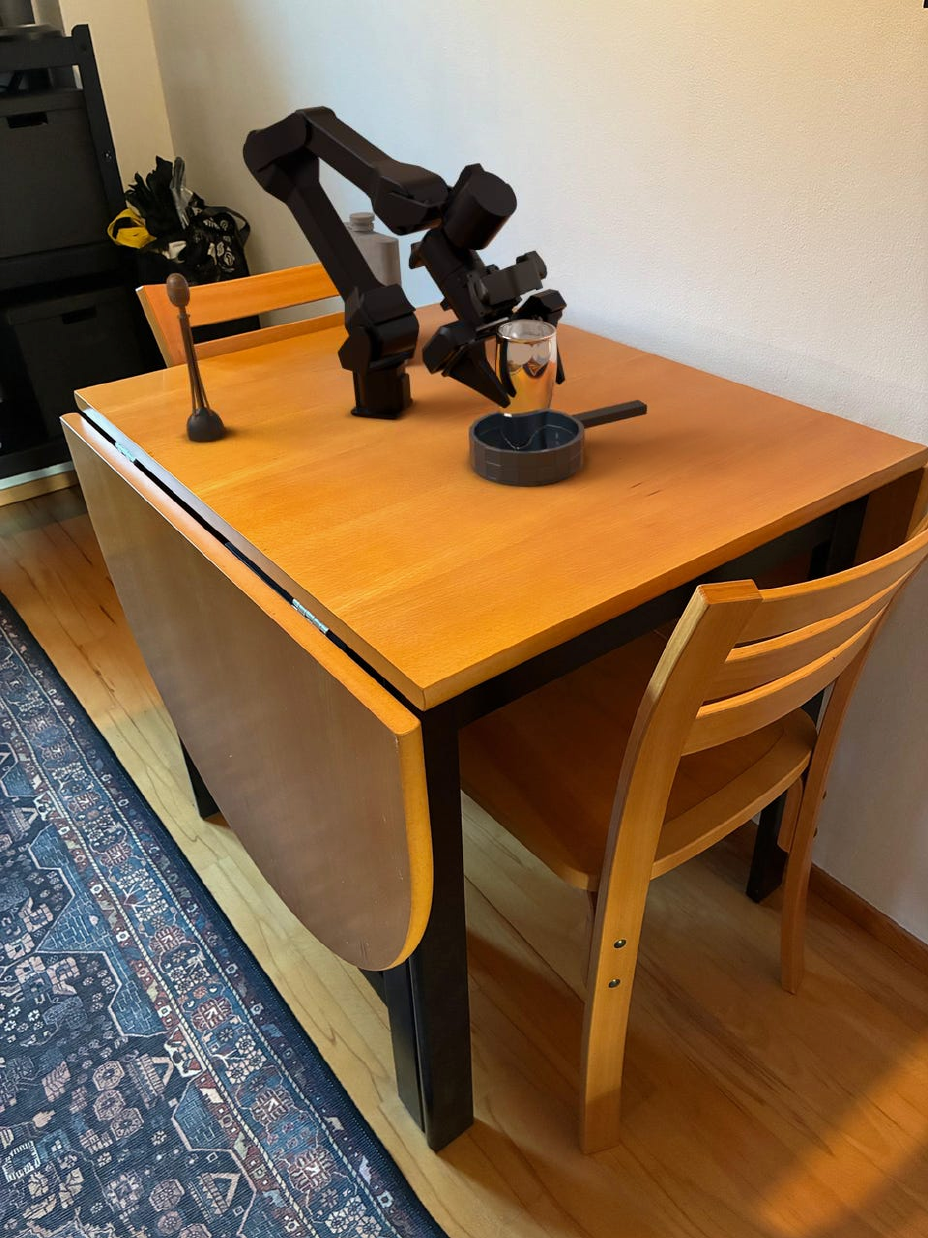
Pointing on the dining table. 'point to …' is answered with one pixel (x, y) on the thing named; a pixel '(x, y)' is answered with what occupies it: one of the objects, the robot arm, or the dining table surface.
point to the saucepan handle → (611, 413)
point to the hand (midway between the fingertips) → (535, 393)
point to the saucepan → (527, 452)
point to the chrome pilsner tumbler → (526, 382)
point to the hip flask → (376, 248)
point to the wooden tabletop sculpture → (193, 369)
